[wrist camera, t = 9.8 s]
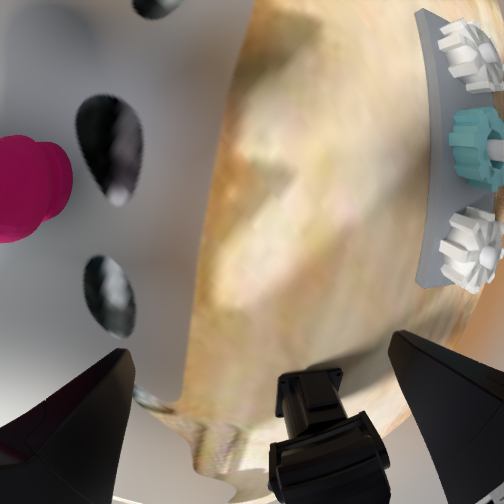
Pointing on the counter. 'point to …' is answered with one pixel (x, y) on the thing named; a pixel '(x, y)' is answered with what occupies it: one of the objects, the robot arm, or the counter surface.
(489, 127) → the teal gear
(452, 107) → the gear board
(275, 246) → the counter surface
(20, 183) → the pepper mill
